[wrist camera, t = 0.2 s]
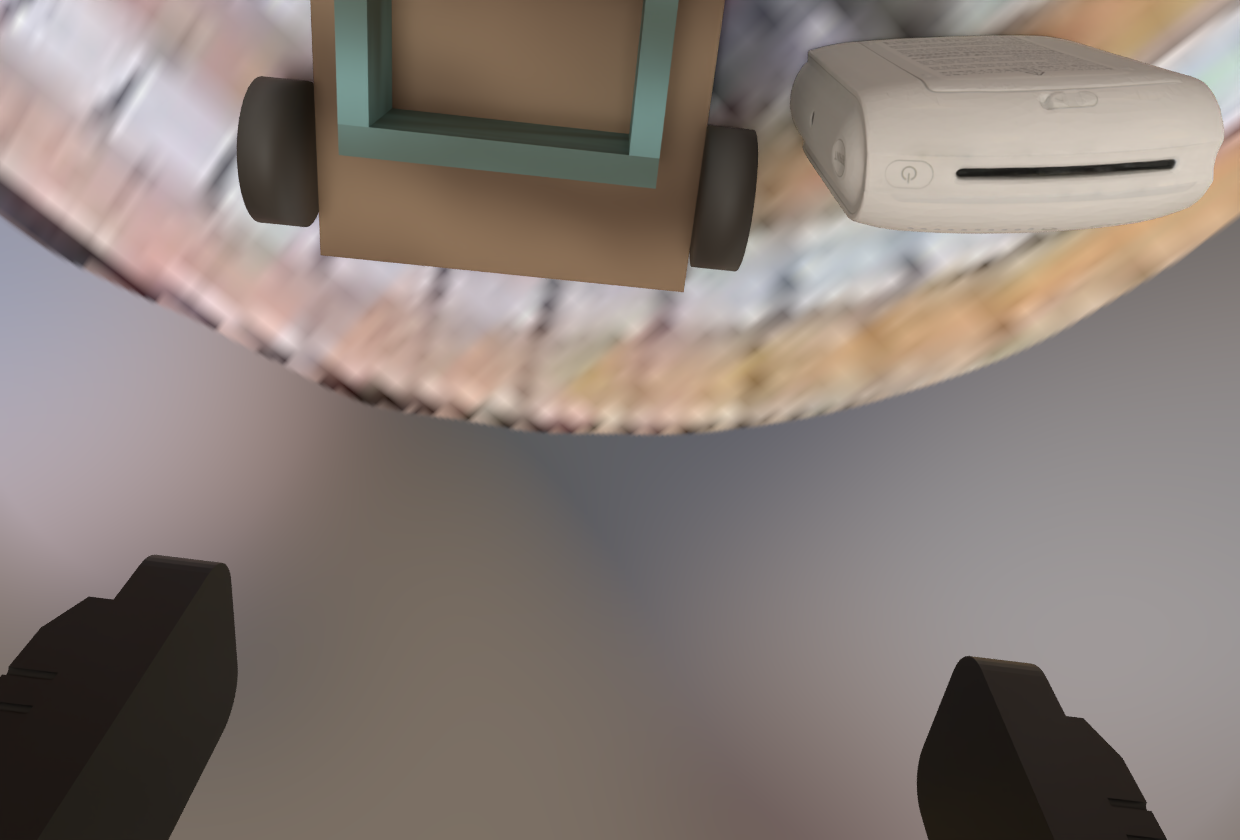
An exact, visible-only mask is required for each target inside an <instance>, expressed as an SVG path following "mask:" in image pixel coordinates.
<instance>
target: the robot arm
mask: <svg viewBox="0 0 1240 840" xmlns="http://www.w3.org/2000/svg"><path fill="white" fill-rule="evenodd" d="M231 586H232V585H231V576H230V572H229V569H228V567H227V566H226V564H224V563H219V562H211V561H203V560H194V559H186V558H178V557H170V556H162V555H151V556H149V557H147V558H146V559H145V560H144V561H143V562H142V563H141V564H140V565H139V567H138V568H137V569H136V571H135V572H134V573H133V575H132V576H131V578H130V579H129V580H128V581H127V583H126V584H125V585H124V587H123V588H122V589H121V591H120V592H119V593H118V594H117V596H116V597H115V599H114V600H112V599H103V598H96V597H88V598H86V599H84V600H83V601H81V602H80V603H78V604H77V605H75V606H74V607H72V608H71V609H69V610H67V611H66V612H64V613H63V614H61V615H60V616H58V617H57V618H55V619H54V620H52V621H51V622H49V623H47V624H46V625H45V626H43V627H41V628H40V629H39V631H38V632H37V633H36V634H35V635H34V637H33V638H32V639H31V640H30V642H29V643H28V644H27V645H26V646H25V648H24V649H23V650H22V651H21V652H20V654H19V655H18V656H17V657H16V659H15V660H14V661H13V662H12V663H11V664H10V666H9V670H8V673H7V675H1V677H0V840H168V839H169V837H170V835H171V833H172V832H173V830H174V827H175V826H176V824H177V822H178V820H179V818H180V816H181V814H182V812H183V810H184V808H185V806H186V804H187V802H188V800H189V798H190V796H191V794H192V792H193V790H194V788H195V786H196V784H197V782H198V780H199V778H200V776H201V774H202V772H203V770H204V768H205V766H206V764H207V762H208V760H209V759H210V757H211V755H212V753H213V751H214V748H215V747H216V745H217V743H218V741H219V739H220V737H221V735H222V733H223V731H224V729H225V726H226V724H227V722H228V719H229V716H230V713H231V710H232V706H233V702H234V698H235V692H236V687H237V676H238V668H237V667H238V666H237V652H236V639H235V626H234V612H233V599H232V587H231ZM917 795H918V803H919V808H920V813H921V816H922V819H923V823H924V826H925V830H926V833H927V836H928V839H929V840H1167V839H1166V837H1165V835H1164V833H1163V831H1162V829H1161V828H1160V826H1159V824H1158V822H1157V820H1156V819H1155V817H1154V815H1153V813H1152V811H1147V809H1146V803H1147V802H1146V800H1145V798H1144V797H1143V795H1142V793H1141V791H1140V789H1139V787H1138V786H1137V784H1136V782H1135V780H1134V778H1133V776H1132V775H1131V773H1130V771H1129V769H1128V767H1127V766H1126V764H1125V762H1124V760H1123V758H1122V757H1121V756H1120V755H1119V754H1118V753H1117V752H1116V751H1115V750H1114V749H1113V748H1112V747H1111V746H1110V745H1109V744H1108V743H1107V742H1106V741H1105V740H1104V739H1103V738H1102V737H1101V736H1100V735H1099V734H1098V733H1097V732H1096V731H1095V730H1094V729H1093V728H1092V727H1091V726H1090V725H1089V724H1088V723H1087V722H1086V721H1085V720H1084V719H1083V718H1077V717H1069V716H1066V715H1065V714H1064V712H1063V710H1062V708H1061V706H1060V704H1059V702H1058V700H1057V698H1056V696H1055V694H1054V692H1053V690H1052V688H1051V686H1050V684H1049V682H1048V680H1047V678H1046V676H1045V675H1044V673H1043V671H1042V670H1041V669H1040V668H1039V667H1037V666H1036V665H1034V664H1029V663H1021V662H1013V661H1004V660H997V659H989V658H980V657H972V656H965V657H963V658H962V659H961V660H960V661H959V662H958V663H957V665H956V667H955V669H954V671H953V673H952V676H951V678H950V681H949V684H948V686H947V688H946V691H945V693H944V696H943V698H942V701H941V704H940V706H939V708H938V711H937V714H936V716H935V718H934V721H933V724H932V726H931V728H930V731H929V733H928V736H927V738H926V741H925V743H924V746H923V749H922V752H921V755H920V759H919V764H918V772H917Z"/></svg>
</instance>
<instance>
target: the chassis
mask: <svg viewBox="0 0 1240 840" xmlns="http://www.w3.org/2000/svg"><path fill="white" fill-rule="evenodd" d="M310 2H311V27H312V52H313V76H314V84H313V83H312V82H309V81H300V80H291V79H282V78H273V77H264V76H260V77H257V78H256V79H254V80H253V82H252V83H251V84H250V86H249V87H248V90H247V92H246V94H245V97H244V100H243V104H242V107H241V112H240V117H239V124H238V134H237V167H238V177H239V183H240V189H241V193H242V197H243V200H244V203H245V206H246V208H247V210H248V212H249V214H250V215H251V217H252V218H253V219H254V220H255V221H257V222H261V223H271V224H281V225H290V226H300V227H308V226H310V225H311V224H312V223H313V222H314V220H315V219H316V217H317V215H318V212H319V225H320V250H321V255H324V256H334V257H344V258H354V259H363V260H373V261H383V262H393V263H403V264H413V265H422V266H432V267H442V268H452V269H462V270H471V271H481V272H491V273H501V274H511V275H520V276H530V277H540V278H550V279H560V280H570V281H579V282H589V283H599V284H609V285H619V286H628V287H638V288H648V289H658V290H668V291H678V292H684V285H685V278H686V271H687V264H688V257H689V250H690V264H691V267H698V268H708V269H717V270H727V271H737V270H738V269H739V267H740V265H741V262H742V260H743V256H744V253H745V249H746V245H747V241H748V236H749V232H750V226H751V221H752V214H753V208H754V200H755V192H756V182H757V168H758V142H757V135H756V132H755V130H749V129H740V128H731V127H722V126H713V125H708V126H707V123H708V116H709V109H710V102H711V95H712V88H713V81H714V74H715V67H716V60H717V53H718V46H719V39H720V32H721V25H722V18H723V11H724V3H725V0H310Z"/></svg>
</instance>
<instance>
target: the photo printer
mask: <svg viewBox="0 0 1240 840" xmlns="http://www.w3.org/2000/svg"><path fill="white" fill-rule="evenodd" d="M790 108H791V114H792V119H793V122H794V124H795V126H796V128H797V130H798V132H799V133H800V135H801V136H802V137H803V140H804V142H803V150H804V152H805V154H806V156H807V158H808V159H809V161H810V162H811V164H812V165H813V167H814V168H815V170H816V171H817V173H818V174H819V175H820V177H821V178H822V180H823V182H824V183H825V185H826V186H827V187H828V189H829V190H830V192H831V193H832V195H833V196H834V198H835V199H836V201H837V202H838V203H839V205H840V206H841V208H842V209H843V210H844V212H845V213H846V215H847V216H848V218H850V219H851V220H853V221H855V222H859V223H863V224H867V225H871V226H875V227H879V228H886V229H893V230H903V231H917V232H937V233H1027V232H1047V231H1064V230H1080V229H1090V228H1101V227H1110V226H1118V225H1125V224H1132V223H1138V222H1143V221H1147V220H1152V219H1156V218H1159V217H1163V216H1166V215H1169V214H1172V213H1175V212H1178V211H1181V210H1183V209H1186V208H1188V207H1190V206H1191V205H1193V204H1194V203H1196V202H1197V201H1198V200H1199V199H1200V198H1201V197H1202V196H1203V195H1204V194H1205V192H1206V191H1207V190H1208V188H1209V187H1210V185H1211V183H1212V182H1213V173H1214V164H1215V159H1216V156H1217V153H1218V150H1219V148H1220V146H1221V144H1222V142H1223V140H1224V127H1223V121H1222V116H1221V111H1220V107H1219V105H1218V102H1217V100H1216V98H1215V96H1214V94H1213V93H1212V91H1211V90H1210V88H1209V87H1208V86H1207V85H1206V84H1205V83H1204V82H1202V81H1200V80H1199V79H1196V78H1194V77H1191V76H1187V75H1184V74H1180V73H1177V72H1173V71H1170V70H1166V69H1163V68H1160V67H1156V66H1153V65H1150V64H1146V63H1143V62H1139V61H1136V60H1133V59H1129V58H1126V57H1123V56H1119V55H1116V54H1113V53H1109V52H1106V51H1103V50H1100V49H1096V48H1093V47H1090V46H1086V45H1083V44H1080V43H1077V42H1073V41H1069V40H1065V39H1060V38H1054V37H1048V36H1024V35H1005V36H998V35H994V36H951V37H927V38H903V39H887V40H873V41H861V42H847V43H840V44H834V45H829V46H825V47H821V48H817V49H813V50H810V51H809V52H808V62H807V63H805V64H804V65H803V67H802V68H801V70H800V71H799V73H798V75H797V77H796V79H795V81H794V84H793V88H792V91H791V101H790Z"/></svg>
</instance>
